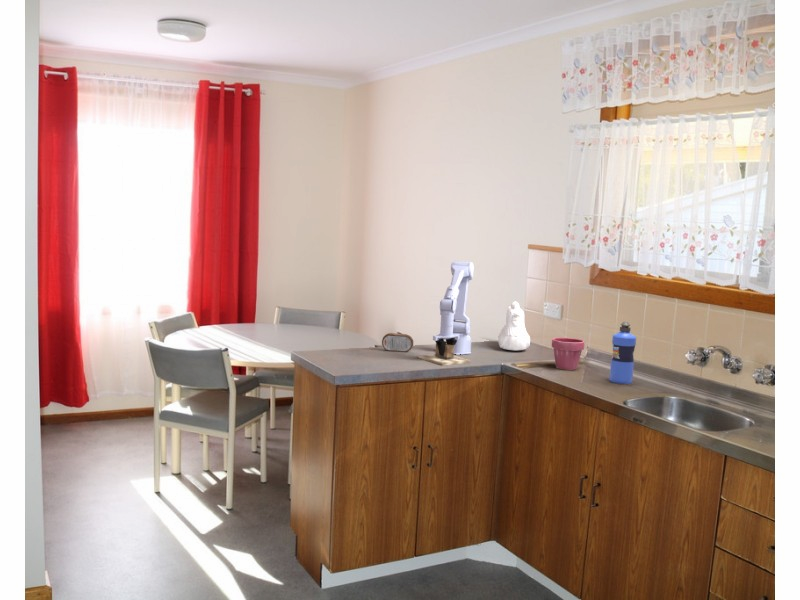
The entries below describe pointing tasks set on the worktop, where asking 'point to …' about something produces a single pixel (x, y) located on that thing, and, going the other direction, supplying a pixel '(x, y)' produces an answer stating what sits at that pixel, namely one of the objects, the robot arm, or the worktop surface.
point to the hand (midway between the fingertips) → (445, 355)
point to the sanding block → (446, 352)
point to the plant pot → (567, 352)
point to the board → (444, 360)
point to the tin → (397, 342)
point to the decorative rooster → (514, 330)
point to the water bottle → (623, 356)
